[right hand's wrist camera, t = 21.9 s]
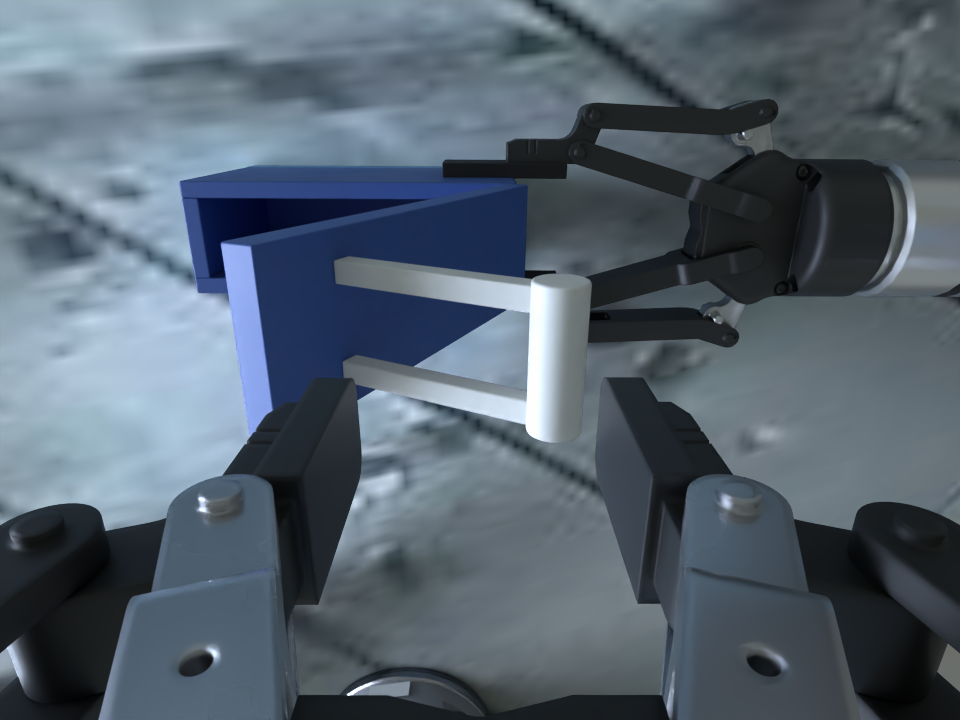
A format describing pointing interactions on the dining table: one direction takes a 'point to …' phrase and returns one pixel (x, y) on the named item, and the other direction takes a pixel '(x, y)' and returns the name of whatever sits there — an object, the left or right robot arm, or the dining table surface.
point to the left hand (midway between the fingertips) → (445, 227)
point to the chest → (297, 202)
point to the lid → (407, 308)
